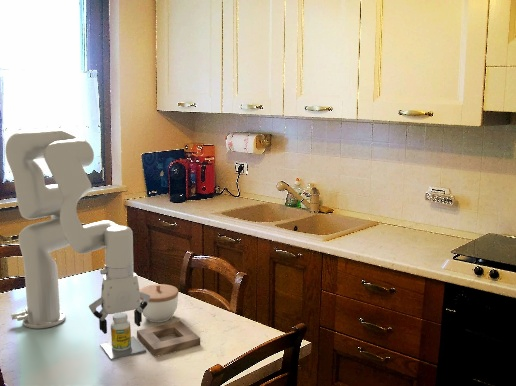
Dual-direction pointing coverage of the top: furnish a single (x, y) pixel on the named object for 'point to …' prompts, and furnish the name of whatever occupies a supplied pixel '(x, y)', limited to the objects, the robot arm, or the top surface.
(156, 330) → the socket board
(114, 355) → the coaster
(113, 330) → the supplement bottle
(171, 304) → the lidded bowl
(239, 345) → the top surface
